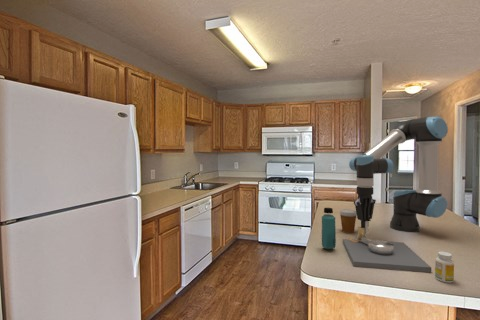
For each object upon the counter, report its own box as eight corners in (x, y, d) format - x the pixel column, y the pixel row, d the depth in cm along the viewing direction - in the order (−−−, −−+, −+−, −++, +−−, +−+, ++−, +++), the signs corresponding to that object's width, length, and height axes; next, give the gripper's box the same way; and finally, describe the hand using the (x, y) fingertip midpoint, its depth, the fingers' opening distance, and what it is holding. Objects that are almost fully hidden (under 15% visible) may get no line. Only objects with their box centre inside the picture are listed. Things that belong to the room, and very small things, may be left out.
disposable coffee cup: (358, 234, 147) (358, 213, 146) (340, 233, 149) (340, 212, 148) (354, 229, 156) (355, 209, 156) (338, 228, 158) (338, 208, 158)
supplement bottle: (434, 279, 95) (434, 253, 95) (436, 274, 99) (436, 249, 99) (453, 284, 92) (453, 257, 91) (454, 279, 96) (454, 253, 95)
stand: (403, 246, 128) (403, 241, 128) (431, 272, 101) (431, 266, 101) (342, 242, 134) (342, 238, 134) (353, 266, 107) (353, 260, 107)
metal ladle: (399, 253, 114) (399, 237, 114) (380, 256, 111) (380, 239, 111) (366, 239, 132) (366, 225, 132) (350, 241, 130) (350, 227, 129)
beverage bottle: (334, 253, 121) (334, 210, 120) (319, 250, 124) (319, 208, 124) (337, 248, 126) (337, 207, 126) (323, 246, 130) (323, 206, 129)
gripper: (367, 184, 135) (367, 229, 136) (349, 186, 129) (349, 233, 130) (380, 186, 128) (380, 233, 129) (361, 188, 123) (361, 238, 124)
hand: (364, 233), depth 130 cm, fingers closed
